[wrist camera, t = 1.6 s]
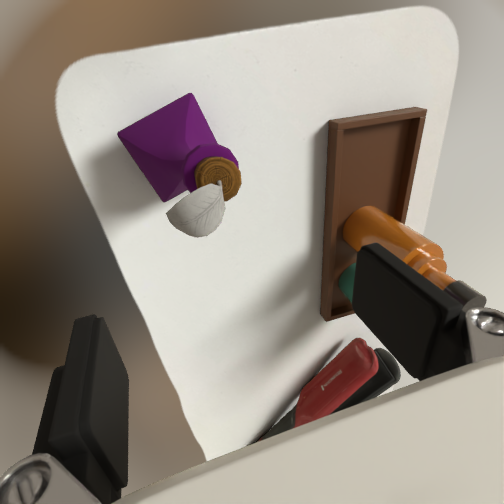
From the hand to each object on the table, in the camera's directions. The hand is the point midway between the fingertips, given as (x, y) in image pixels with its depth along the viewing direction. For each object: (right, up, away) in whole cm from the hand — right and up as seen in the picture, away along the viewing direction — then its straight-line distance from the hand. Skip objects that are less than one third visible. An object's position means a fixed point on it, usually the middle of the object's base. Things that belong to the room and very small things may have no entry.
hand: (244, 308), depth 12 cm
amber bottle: (+16, +6, +34) cm, 38 cm away
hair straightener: (+11, -27, +53) cm, 60 cm away
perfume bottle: (-8, +13, +21) cm, 26 cm away
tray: (+16, +6, +34) cm, 38 cm away
